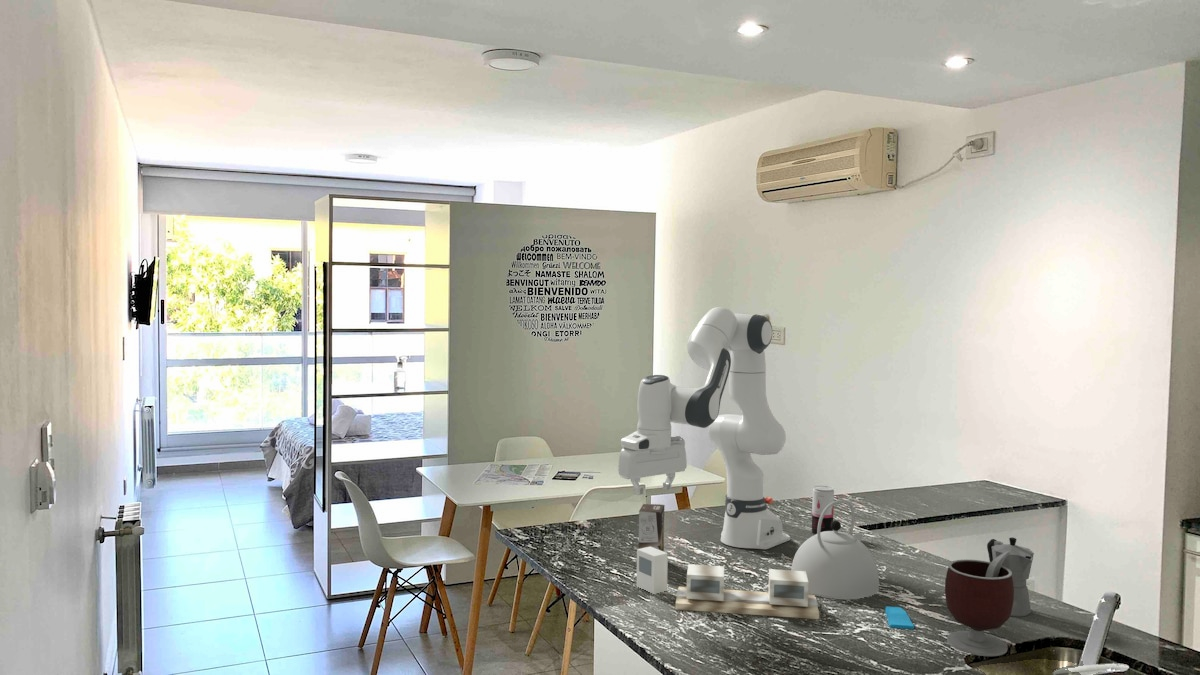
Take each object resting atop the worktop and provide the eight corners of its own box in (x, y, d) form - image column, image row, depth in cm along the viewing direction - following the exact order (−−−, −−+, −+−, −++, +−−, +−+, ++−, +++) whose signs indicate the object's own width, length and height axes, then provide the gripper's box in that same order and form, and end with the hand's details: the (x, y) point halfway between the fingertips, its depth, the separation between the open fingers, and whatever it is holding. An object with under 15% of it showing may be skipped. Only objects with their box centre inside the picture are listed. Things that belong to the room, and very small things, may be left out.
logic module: (649, 583, 228) (650, 546, 227) (667, 591, 222) (667, 553, 222) (636, 587, 225) (636, 549, 225) (653, 594, 220) (654, 556, 219)
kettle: (824, 563, 247) (826, 485, 246) (899, 583, 231) (901, 500, 229) (773, 583, 230) (775, 499, 228) (850, 606, 213) (853, 516, 212)
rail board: (675, 609, 210) (675, 576, 209) (678, 592, 222) (679, 561, 221) (819, 619, 205) (819, 585, 204) (814, 601, 216) (815, 569, 216)
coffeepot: (1045, 618, 207) (1049, 544, 206) (1011, 621, 205) (1014, 546, 204) (1002, 595, 222) (1005, 526, 221) (970, 598, 220) (972, 528, 219)
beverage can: (837, 535, 275) (838, 488, 274) (823, 538, 271) (824, 491, 270) (821, 530, 280) (822, 484, 279) (807, 533, 276) (808, 487, 276)
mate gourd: (978, 662, 182) (982, 569, 181) (929, 637, 195) (932, 550, 193) (1031, 650, 188) (1035, 560, 187) (980, 627, 201) (983, 542, 200)
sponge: (910, 608, 210) (885, 603, 212) (915, 627, 199) (889, 622, 200) (909, 614, 211) (884, 609, 212) (914, 633, 199) (888, 628, 200)
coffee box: (660, 569, 239) (661, 512, 238) (637, 567, 241) (638, 510, 240) (664, 559, 248) (665, 504, 247) (642, 557, 250) (643, 502, 249)
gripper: (676, 433, 230) (675, 484, 231) (615, 440, 218) (614, 494, 219) (692, 437, 225) (691, 489, 226) (630, 444, 213) (629, 499, 214)
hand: (653, 492), depth 222 cm, fingers open, 8 cm apart
